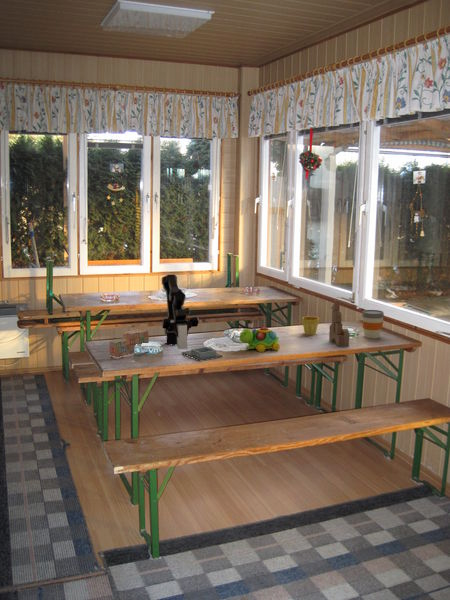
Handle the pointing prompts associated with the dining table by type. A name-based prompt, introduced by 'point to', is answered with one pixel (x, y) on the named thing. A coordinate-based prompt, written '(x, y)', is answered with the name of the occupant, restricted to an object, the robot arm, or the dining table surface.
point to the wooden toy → (338, 327)
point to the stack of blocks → (128, 342)
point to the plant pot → (310, 324)
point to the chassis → (202, 353)
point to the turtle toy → (260, 339)
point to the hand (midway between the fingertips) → (182, 336)
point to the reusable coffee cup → (372, 323)
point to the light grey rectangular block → (182, 336)
